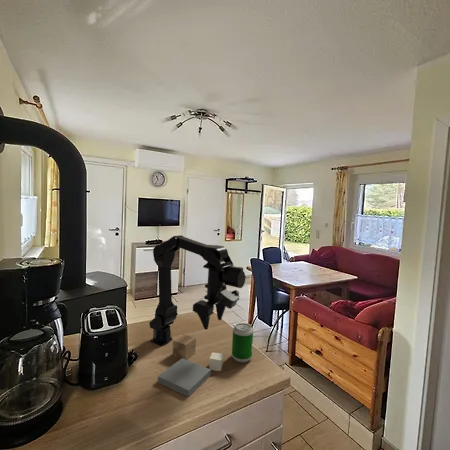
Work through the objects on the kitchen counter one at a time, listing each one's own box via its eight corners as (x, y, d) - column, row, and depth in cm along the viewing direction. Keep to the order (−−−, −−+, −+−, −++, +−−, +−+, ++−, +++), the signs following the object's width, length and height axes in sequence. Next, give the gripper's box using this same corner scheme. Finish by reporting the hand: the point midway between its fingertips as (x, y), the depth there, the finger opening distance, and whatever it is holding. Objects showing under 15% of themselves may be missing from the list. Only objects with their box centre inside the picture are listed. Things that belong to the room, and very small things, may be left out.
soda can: (250, 365, 95) (252, 332, 95) (229, 362, 97) (231, 329, 96) (252, 354, 103) (254, 323, 102) (233, 351, 104) (234, 321, 103)
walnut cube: (172, 356, 99) (173, 340, 99) (182, 348, 105) (183, 333, 104) (185, 361, 96) (186, 345, 96) (195, 353, 102) (195, 338, 101)
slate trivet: (157, 382, 84) (157, 376, 84) (182, 363, 95) (182, 358, 94) (188, 397, 78) (188, 390, 78) (210, 375, 89) (211, 369, 89)
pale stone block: (209, 369, 92) (209, 358, 92) (211, 363, 96) (212, 352, 96) (220, 371, 91) (221, 360, 91) (222, 364, 95) (223, 353, 95)
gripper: (222, 293, 83) (219, 342, 84) (247, 280, 99) (244, 321, 101) (192, 286, 88) (190, 332, 90) (221, 274, 105) (218, 313, 106)
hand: (213, 324), depth 96 cm, fingers open, 9 cm apart
